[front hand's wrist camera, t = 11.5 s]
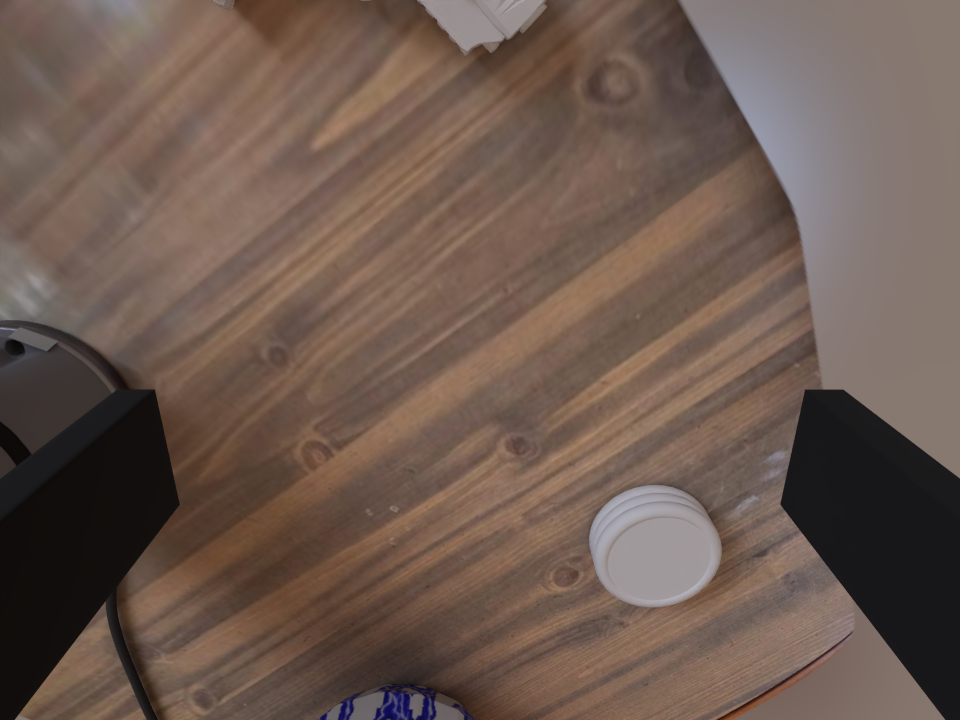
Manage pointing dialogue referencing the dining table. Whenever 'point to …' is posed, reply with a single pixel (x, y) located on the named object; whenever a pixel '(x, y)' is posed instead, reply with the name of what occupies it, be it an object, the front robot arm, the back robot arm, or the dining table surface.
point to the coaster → (654, 546)
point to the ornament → (398, 705)
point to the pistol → (474, 19)
